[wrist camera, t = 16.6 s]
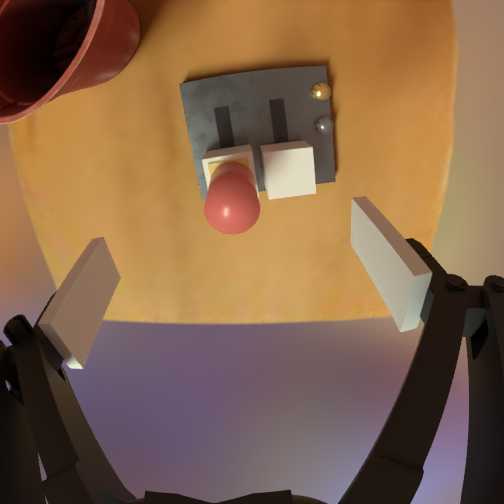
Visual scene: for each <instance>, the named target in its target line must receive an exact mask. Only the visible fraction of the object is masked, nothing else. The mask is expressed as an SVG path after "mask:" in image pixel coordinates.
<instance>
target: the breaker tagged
mask: <svg viewBox="0 0 504 504" xmlns="http://www.w3.org/2000/svg"><path fill="white" fill-rule="evenodd" d="M227 162H239V163H241V164H244V165H245V166H247V167H248V168H249V169H250V171H251V172H252V174H253V176H254V181H255V185H256V190H257V194H258V187H257V180H256V173H255V166H254V159H253V152H252V148H251V145H250V144H248V145H242V146H235V147H229V148H223V149H217V150H211V151H206V152H205V154H204V156H203V158H202V163H203V168H204V173H205V178H206V183H207V188H209V184H210V180H211V176H212V174H213V172H214V170H215V169H216V168H217V167H218V166H220V165H221V164H224V163H227ZM258 198H259V194H258Z"/></svg>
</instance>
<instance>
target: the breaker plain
mask: <svg viewBox="0 0 504 504" xmlns="http://www.w3.org/2000/svg"><path fill="white" fill-rule="evenodd" d="M260 152H261V159H262V166H263V174H264V181H265V188H266V191H267V195H268V198H269V200H270V199H277V198H284V197H291V196H299V195H307V194H314V193H316V185H315V170H314V157H313V147H312V146H311V145H309V144H308V143H307V142H306V141H304V140H302V141H293V142H284V143H276V144H268V145H260Z"/></svg>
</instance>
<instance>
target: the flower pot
mask: <svg viewBox="0 0 504 504" xmlns="http://www.w3.org/2000/svg"><path fill="white" fill-rule="evenodd" d="M75 17H76V18H77V19H76V21H75V22H74V23H73V24H72V26H71V27H70V29H69V30H68V32H67V34H66V35H64V31H65V30H66V28H67V26H68V25H69V23H70V22H71V21H72V20H73V18H75ZM140 36H141V35H140V21H139V16H138V14H137V12H136V10H135V9H134V7H133V6H132V5H131V4H130V3H129V1H128V0H0V124H7V123H12V122H15V121H18V120H20V119H23V118H25V117H27V116H28V115H30V114H32V113H33V112H35V111H36V110H38V109H39V108H41V107H42V106H43V105H45V104H46V103H48V102H50V101H52V100H53V99H55V98H57V97H58V96H60V95H63V94H66V93H70V92H73V91H77V90H80V89H84V88H88V87H93V86H96V85H99V84H102V83H104V82H107V81H108V80H110V79H112V78H113V77H115V76H116V75H117V74H118V73H119V72H121V71H122V70H123V68H124V67H125V66H126V65H127V64H128V62H129V61H130V60H131V58H132V57H133V55H134V53H135V51H136V49H137V47H138V44H139V40H140ZM79 42H82V46H78V44H79ZM66 69H67V70H66Z"/></svg>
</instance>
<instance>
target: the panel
mask: <svg viewBox="0 0 504 504" xmlns="http://www.w3.org/2000/svg"><path fill="white" fill-rule="evenodd" d="M179 85H180V91H181V96H182V102H183V107H184V113H185V118H186V123H187V128H188V133H189V138H190V143H191V148H192V153H193V158H194V163H195V168H196V173H197V178H198V182H199V187H200V192H201V196H202V200H206V196H207V192H208V188H207V183H206V178H205V173H204V168H203V163H202V158H203V156H204V154H205V152H206V151H211V150H217V149H223V148H229V147H235V146H242V145H248V144H250V145H251V148H252V152H253V159H254V166H255V173H256V180H257V187H258V192H259V191H266V188H265V181H264V174H263V166H262V159H261V152H260V145H268V144H276V143H284V142H293V141H302V140H304V141H306V142H307V143H308V144H309V145H311V146H312V147H313V157H314V170H315V184H320V183H329V182H335V163H334V146H333V132H332V131H333V129H334V123H333V121H332V119H331V108H330V98H329V97H330V95H331V89H330V87H329V86H328V79H327V71H326V66H307V67H290V68H278V69H268V70H258V71H250V72H243V73H235V74H229V75H223V76H217V77H211V78H206V79H200V80H195V81H191V82H186V83H181V84H179Z"/></svg>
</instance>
